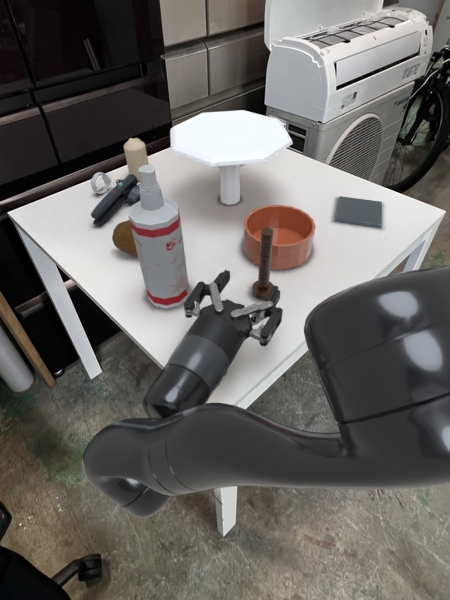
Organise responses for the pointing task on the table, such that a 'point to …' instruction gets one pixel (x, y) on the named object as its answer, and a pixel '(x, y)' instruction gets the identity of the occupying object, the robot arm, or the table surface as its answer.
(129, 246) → the potato
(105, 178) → the wristwatch
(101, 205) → the can opener
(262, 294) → the stirrer
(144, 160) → the candle
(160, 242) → the spray bottle
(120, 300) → the table surface
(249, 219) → the bowl
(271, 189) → the table surface
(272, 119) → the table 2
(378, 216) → the square plate
